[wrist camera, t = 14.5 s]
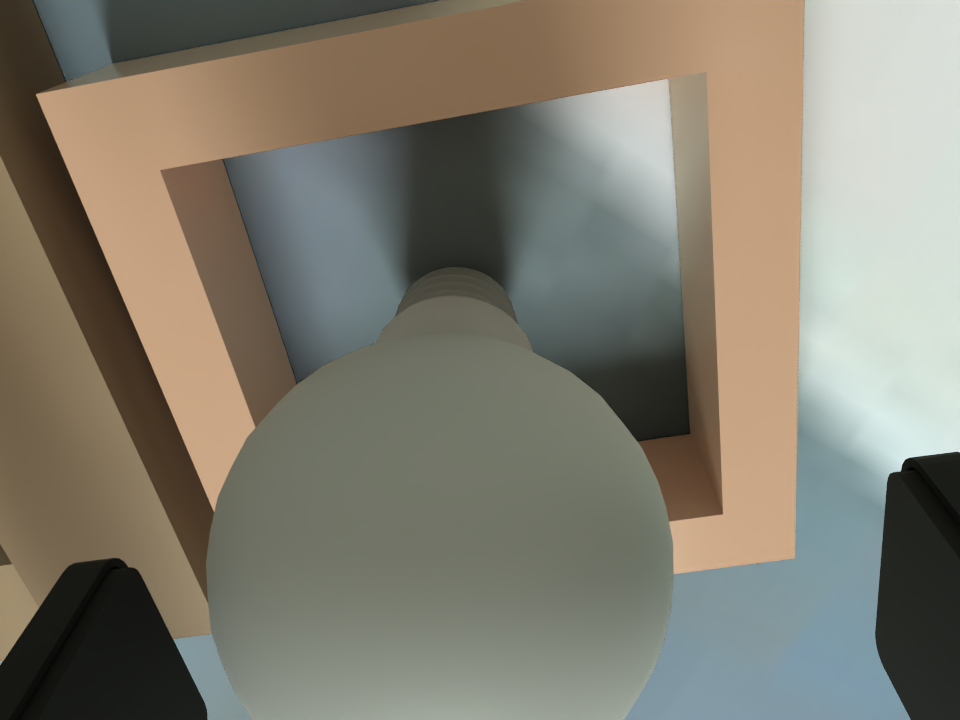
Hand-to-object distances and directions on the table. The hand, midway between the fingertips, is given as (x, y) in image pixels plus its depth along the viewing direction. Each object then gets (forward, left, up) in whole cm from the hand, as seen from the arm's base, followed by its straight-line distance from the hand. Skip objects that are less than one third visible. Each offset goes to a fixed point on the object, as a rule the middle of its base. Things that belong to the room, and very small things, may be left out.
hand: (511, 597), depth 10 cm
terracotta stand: (0, 0, -9) cm, 9 cm away
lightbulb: (+1, 0, -9) cm, 9 cm away
